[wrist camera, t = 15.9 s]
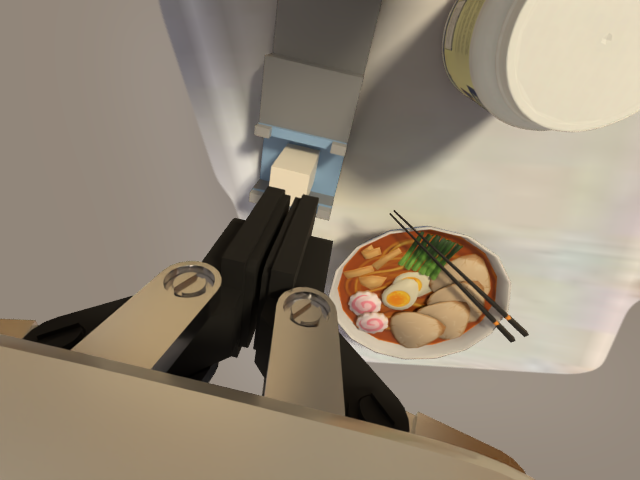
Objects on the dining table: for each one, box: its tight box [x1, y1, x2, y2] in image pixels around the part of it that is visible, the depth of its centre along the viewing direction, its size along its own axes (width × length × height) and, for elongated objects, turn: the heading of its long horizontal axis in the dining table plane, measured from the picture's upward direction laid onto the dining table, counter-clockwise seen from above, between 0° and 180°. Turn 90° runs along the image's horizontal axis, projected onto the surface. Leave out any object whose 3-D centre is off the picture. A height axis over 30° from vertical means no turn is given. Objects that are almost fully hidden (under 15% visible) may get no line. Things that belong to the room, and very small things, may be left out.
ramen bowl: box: [328, 210, 529, 359], centre depth 46 cm, size 25×23×8 cm
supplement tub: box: [442, 0, 640, 132], centre depth 25 cm, size 12×12×17 cm
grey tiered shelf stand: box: [249, 0, 382, 221], centre depth 36 cm, size 24×10×6 cm, turn 169°
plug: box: [269, 143, 320, 206], centre depth 38 cm, size 4×4×8 cm
